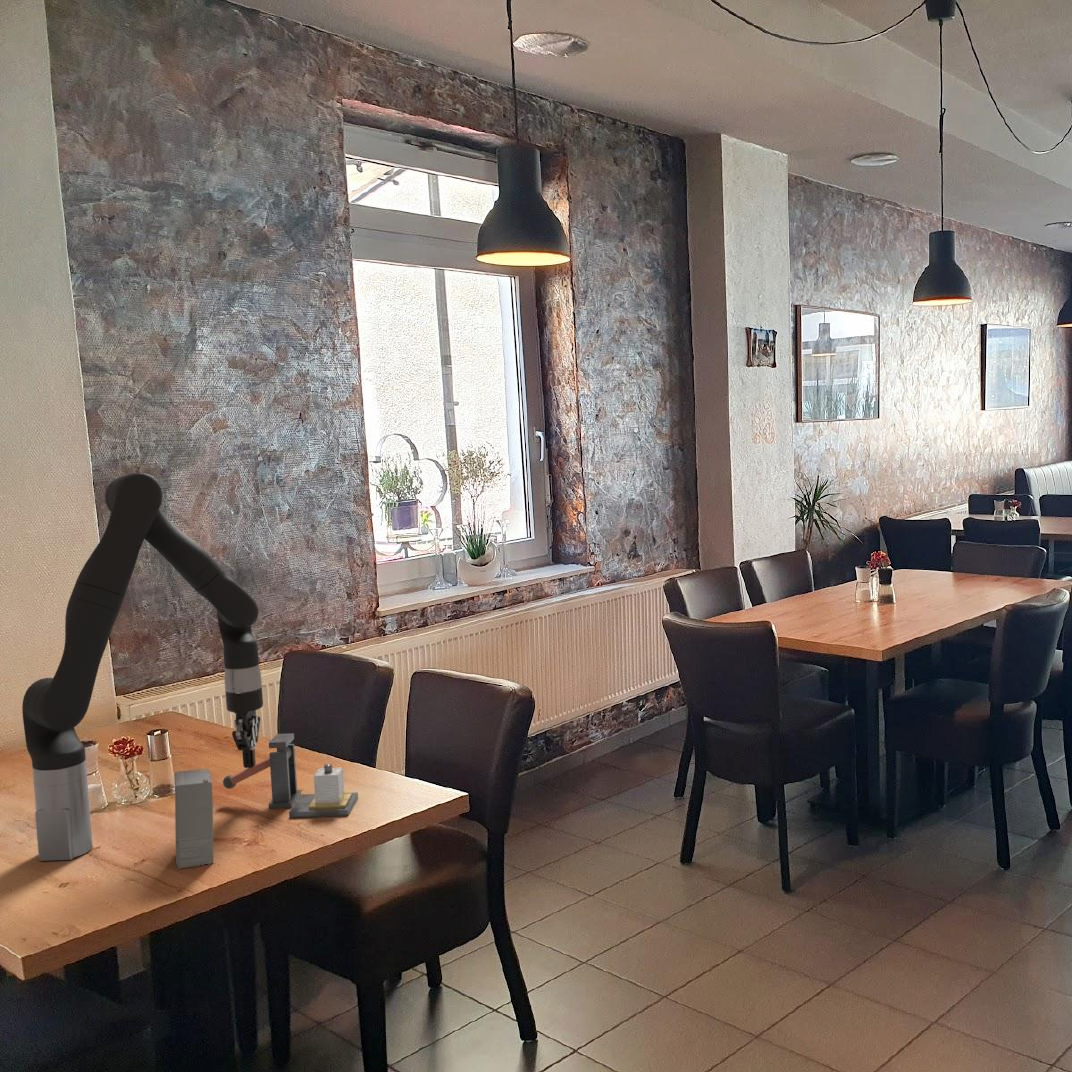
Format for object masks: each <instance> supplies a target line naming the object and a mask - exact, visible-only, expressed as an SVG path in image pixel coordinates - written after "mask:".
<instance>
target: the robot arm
mask: <svg viewBox="0 0 1072 1072" xmlns="http://www.w3.org/2000/svg"><path fill="white" fill-rule="evenodd" d="M104 501H105V505H106V508H107V509H108V510H109V512H110V516H109V519H108V522H107V526H106V528H105V530H104V533H103V535H102V537H101V539H100V541H99V542H98V544H97V545H96V547H95V548H94V550H93V551H92V553H91V555H90V556H89V557H88V559H87V560H86V563H85V564H84V565H83V567H82V568H81V570H80V572H79V574H78V576H77V578H76V581H75V584H74V587H73V588H72V591H71V594H70V597H69V599H68V603H67V605H66V606H67V607H66V611H65V618H64V619H65V621H64V622H65V623H64V624H65V626H64V628H65V630H64V632H65V633H64V634H65V635H64V649H63V652H62V656H61V659H60V661H59V665H58V666H57V669H56V671H55V674H54V676H53V677H43V678H40V679H38V680H36V681H34V682H33V683H31V684H30V685H29V687H28V688H27V689H26V691H25V694H24V696H23V699H22V705H21V707H22V708H21V709H22V710H21V711H22V721H23V730H24V731H23V732H24V737H25V744H26V745H25V746H26V750H27V752H28V755H29V756H30V759H31V767H32V777H33V779H32V780H33V790H34V792H33V793H34V805H35V813H34V814H35V815H34V816H35V828H36V829H35V830H36V838H37V839H36V840H37V852H38V861H39V862H43V861H45V862H46V861H49V862H50V861H71V860H73V859H74V858H77V857H80V856H82V855H84V854H86V853H88V852H90V851H91V850H92V848H93V837H92V836H93V834H92V824H91V823H92V822H91V810H90V809H91V808H90V797H89V784H88V782H89V781H88V769H87V759H86V757H87V756H86V749H85V745H84V743H83V742H82V741H81V740H80V738H79V737H78V736H79V735H78V734H77V732H76V728H75V727H77V726H78V725H79V724H80V723H81V722H82V721H83V720H84V718H85V716H86V714H87V712H88V710H89V707H90V703H91V699H92V695H93V692H94V687H95V683H96V680H97V675H98V671H99V668H100V664H101V661H102V658H103V655H104V653H105V650H106V647H107V645H108V642H109V639H110V637H111V634H112V631H113V629H114V626H115V624H116V621H117V617H118V616H119V613H120V610H121V608H122V606H123V603H124V600H125V597H126V594H127V590H128V587H129V584H130V581H131V578H132V576H133V573H134V570H135V567H136V563H137V560H138V557H139V553H140V551H141V548H142V546H143V543H144V541H146V542H147V543H148V544H149V545H150V546H151V547H153V549H154V550H156V551H157V552H158V553H159V554H160V555H161V556H162V557H163V558H165V560H166V561H167V562H168V563H169V564H170V565H171V566H172V567H173V568H174V570H176V571H177V572H178V574H180V576H182V578H183V579H184V580H185V581H186V583H187V584H188V585H190V586H191V587H192V588H193V589H194V591H195V592H196V593H197V594H199V596H201V597H202V598H204V599H206V600H207V601H208V602H209V603H210V604H211V605H212V606H213V607H214V608H215V609H216V615H217V625H218V629H219V633H220V638H221V640H222V641H221V642H222V646H223V663H224V664H223V665H224V677H223V679H224V693H225V704H226V710H227V712H230V713H234V714H235V719H234V721H233V722H234V723H233V724H234V728H235V730H233V731H232V732H231V736H232V739H233V741H234V743H235V746H236V748H237V751H241V752H242V763H243V768H245V769H247V768H252V767H253V766H254V765H255V764H257V762H256V750H255V749H256V747H257V743H258V741H259V732H260V725H261V716H258V715H257V712H256V711H258V710H260V709H261V708H263V706H264V699H263V698H264V696H263V695H264V694H263V684H262V683H263V682H262V672H261V668H260V661H259V649H258V643H257V640H256V639H255V637H254V636H253V631H252V625H254V623H256V621H257V619H258V617H259V607H258V604H257V602H256V601H255V599H254V598H253V597H252V596H251V595H250V594H249V593H248V592H247V591H246V590H245V589H244V588H242V586H241V585H239V584H238V583H237V582H236V581H235V580H234V579H232V578H231V577H230V576H229V575H228V573H227V572H226V571H225V569H223V567H222V566H221V565H220V564H219V563H218V561H217V560H215V558H213V556H212V555H210V553H209V552H208V551H207V550H206V549H205V548H204V547H202V546H201V545H200V544H199V543H198V542H197V541H195V540H194V539H193V538H191V536H188V535H187V534H185V533H184V532H183V531H182V530H180V529H179V528H178V527H177V526H175V524H174V523H172V522H171V520H170V519H169V518H168V517H166V515H165V513H163V511H162V510H161V509H160V508H161V506H162V501H163V490H162V487H161V485H160V483H159V481H158V479H156V478H155V477H154V476H153V475H151V474H148V473H147V472H134V473H133V472H132V473H129V474H126V475H122V476H120V477H117V478H116V479H114V480H113V481H111V482H110V483H109V484H108V485H107V487H106V490H105V493H104Z"/></svg>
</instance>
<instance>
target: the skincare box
mask: <svg viewBox="0 0 1072 1072" xmlns="http://www.w3.org/2000/svg"><path fill="white" fill-rule="evenodd" d="M213 798H214V797H213V782H212V773H211V772H210V768H204V769H194V770H193V769H192V770H191V769H190V770H181V771H174V804H175V805H174V808H175V811H174V813H175V814H174V815H175V820H174V821H175V822H174V823H175V826H174V827H175V829H174V830H175V862H176V866H177V869H178V870H180V869H186V868H194V867H201V866H200V865H202V866H205V865H204V864H208V865H212V864H211V863H213V864H214V804H213V803H214V801H213V800H214V799H213Z"/></svg>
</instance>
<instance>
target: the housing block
mask: <svg viewBox="0 0 1072 1072" xmlns="http://www.w3.org/2000/svg"><path fill="white" fill-rule="evenodd" d="M344 783H345V782H344V767H333V764H332V763H327V764H324V765H323V767H322V768H318V769H317V771H315V774H313V784H314V794H315V804H338V803H340V802H341V800H342V799H343V797H344V793H345V784H344Z"/></svg>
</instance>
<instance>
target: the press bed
mask: <svg viewBox="0 0 1072 1072" xmlns="http://www.w3.org/2000/svg"><path fill="white" fill-rule="evenodd" d="M294 740H295V733H294V732H293V733H277V734H275V736H273V738H272V739H271V740H270V741H269V742H268V749H276V751H270V752H269V756H268V757H270V767H269V770H270V783H271V784H270V786H271V800H270V801H269V803H268V809H287V808H288V809H289V812H288V817H289V819H293V818H294V819H296V818H321V817H322V818H323V817H325V818H326V817H327V816H328V817H344V816H345V817H348V816H349V815H350V813H351V811H352V809H353V808H354V806H355V805H356V804H357V803H356V802H357V800H358V799H359V793H358V792H357V791H355V792H344V797H343V799H342V800H341V802H340V803H338V804H315V793H311V794H310V793H309V794H308V793H306V794H303V793H302V790H301V789H298V780H297V767H296V766H297V765H296V764H297V762H296V749H295V747H296V746H295V743H292V742H293V741H294ZM286 747H289V748H290V749H291V756H290V757H289V759H288V751H287V752H277V751H278V750H279V749H280V748H286ZM352 807H353V808H352Z"/></svg>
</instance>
